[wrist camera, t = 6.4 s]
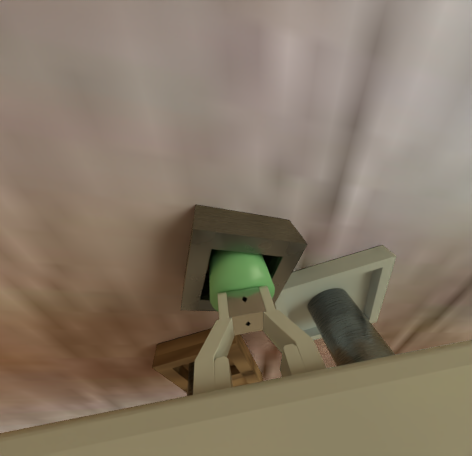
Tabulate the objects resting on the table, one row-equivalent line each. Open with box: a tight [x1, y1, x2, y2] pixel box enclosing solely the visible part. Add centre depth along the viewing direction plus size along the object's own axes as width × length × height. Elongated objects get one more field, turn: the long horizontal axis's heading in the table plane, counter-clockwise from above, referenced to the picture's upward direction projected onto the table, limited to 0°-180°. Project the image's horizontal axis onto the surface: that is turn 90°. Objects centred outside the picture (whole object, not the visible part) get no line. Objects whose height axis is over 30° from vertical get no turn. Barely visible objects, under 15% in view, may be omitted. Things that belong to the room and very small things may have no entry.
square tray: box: [274, 245, 396, 340], centre depth 20 cm, size 11×11×2 cm
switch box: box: [181, 205, 307, 311], centre depth 14 cm, size 7×7×3 cm
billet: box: [307, 288, 395, 366], centre depth 14 cm, size 4×4×14 cm
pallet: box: [152, 329, 263, 392], centre depth 24 cm, size 16×9×2 cm, turn 16°
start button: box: [209, 249, 275, 312], centre depth 13 cm, size 4×4×4 cm
